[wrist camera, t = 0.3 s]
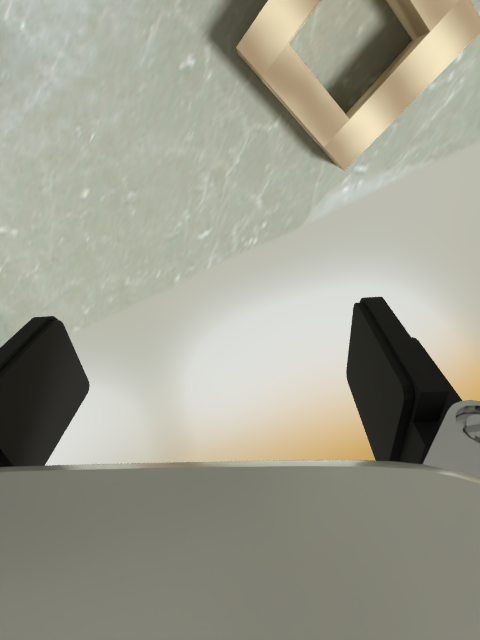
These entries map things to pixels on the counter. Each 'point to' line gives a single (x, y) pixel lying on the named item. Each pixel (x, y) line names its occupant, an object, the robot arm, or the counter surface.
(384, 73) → the socket block
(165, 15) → the counter surface
